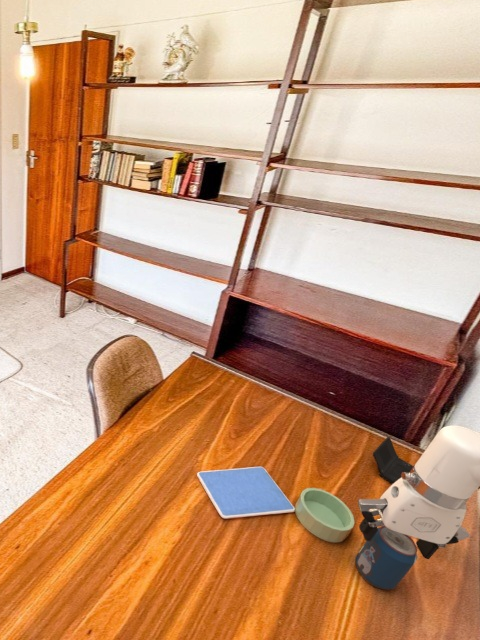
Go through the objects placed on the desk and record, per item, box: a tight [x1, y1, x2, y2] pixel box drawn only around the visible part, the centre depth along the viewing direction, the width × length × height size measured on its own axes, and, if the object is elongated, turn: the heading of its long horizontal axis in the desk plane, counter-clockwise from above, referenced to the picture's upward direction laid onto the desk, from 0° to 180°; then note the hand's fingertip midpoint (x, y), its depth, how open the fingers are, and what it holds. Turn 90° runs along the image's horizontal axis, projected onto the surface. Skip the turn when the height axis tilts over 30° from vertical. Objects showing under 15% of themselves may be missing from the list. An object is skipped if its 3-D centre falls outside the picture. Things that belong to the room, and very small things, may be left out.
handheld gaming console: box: [372, 436, 414, 485], centre depth 106 cm, size 12×7×10 cm
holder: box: [294, 487, 355, 544], centre depth 93 cm, size 10×10×4 cm
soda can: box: [354, 525, 418, 590], centre depth 81 cm, size 7×7×12 cm
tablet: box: [196, 466, 295, 520], centre depth 99 cm, size 19×13×1 cm, turn 97°
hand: (392, 542), depth 79 cm, fingers open, 9 cm apart
